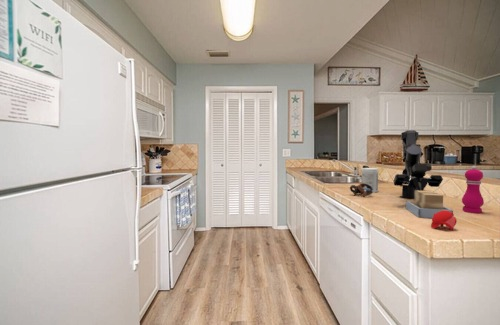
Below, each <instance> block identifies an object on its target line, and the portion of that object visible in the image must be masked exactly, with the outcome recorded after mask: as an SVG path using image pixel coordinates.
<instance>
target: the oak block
mask: <svg viewBox="0 0 500 325" xmlns="http://www.w3.org/2000/svg"><path fill="white" fill-rule="evenodd" d="M413 201H414V203H413V204H414V205H416V206H417V207H419V208H423V209H442V210H443V206H444V195H442V194H441V193H438V192H435V191H432V190H424V191H423V190H415V198H414V200H413Z"/></svg>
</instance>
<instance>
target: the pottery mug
mask: <svg viewBox="0 0 500 325" xmlns="http://www.w3.org/2000/svg"><path fill="white" fill-rule="evenodd" d="M365 186H366V187H367V188H369V189H370V190H366V191H364V188H363V187H365ZM349 191H350V192H351V193H353V194H354V195H358V194H359V195H361V196H362V197H363V198H365V197H367V196H370V195H372V193H373V192H372V187H371V186H370V185H368V184H365V183H362V182H361V183H360V184H358V185H354V184H353V185H350V187H349Z"/></svg>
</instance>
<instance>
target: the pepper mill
mask: <svg viewBox="0 0 500 325" xmlns="http://www.w3.org/2000/svg"><path fill="white" fill-rule="evenodd" d="M477 167H478V166H476V165H473V166H471V169H468V170H466V171H465V173H464V177H465V184H466V190H465V192H464V193H463V195H462V198H461V203H462V204H463V206H462V211H463V212H466V213H471V214H481V213H483V209H482V208H481V207H483V206H484V204H485V201H484V198H483V195H482V193H481V190H480V186H481V184H482V181H481V180H482V179H483V178H484V173H483V172H482V171H481V170H479V169H478V168H477Z"/></svg>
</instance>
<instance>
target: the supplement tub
mask: <svg viewBox="0 0 500 325" xmlns="http://www.w3.org/2000/svg"><path fill="white" fill-rule="evenodd" d="M361 183H365V184H368V185H370V186H371V187H372V193H377V192H378V191H379V169H378V168H376V167H362V168H361ZM363 188H364V191H366V190H370V189H369V188H367V187H366V186H365V187H363Z"/></svg>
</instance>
